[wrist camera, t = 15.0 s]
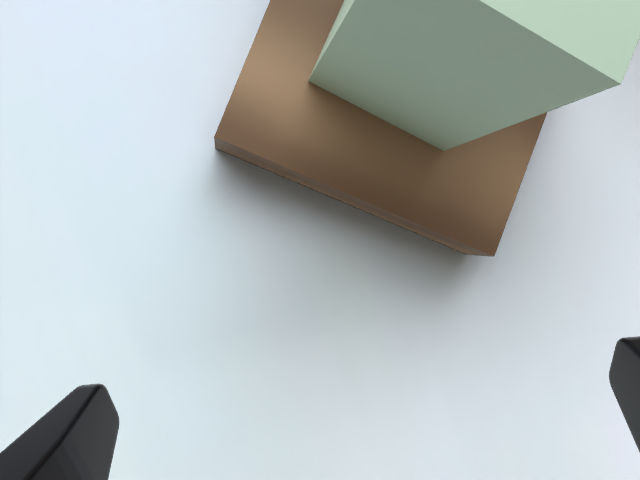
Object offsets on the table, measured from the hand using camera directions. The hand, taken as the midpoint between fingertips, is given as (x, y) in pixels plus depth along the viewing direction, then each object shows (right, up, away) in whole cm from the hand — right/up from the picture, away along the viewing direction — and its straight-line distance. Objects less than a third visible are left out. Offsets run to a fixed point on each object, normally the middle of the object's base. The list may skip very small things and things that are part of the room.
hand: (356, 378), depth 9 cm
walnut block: (+3, +10, +14) cm, 17 cm away
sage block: (+3, +10, +11) cm, 15 cm away
